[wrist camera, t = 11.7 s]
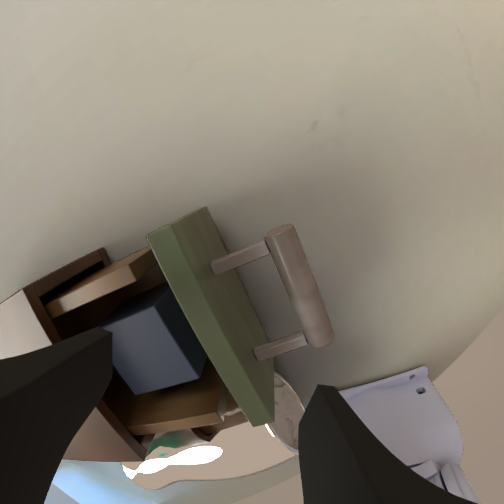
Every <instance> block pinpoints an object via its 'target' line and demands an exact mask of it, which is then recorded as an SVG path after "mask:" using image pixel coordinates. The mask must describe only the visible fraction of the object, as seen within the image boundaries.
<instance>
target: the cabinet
mask: <svg viewBox="0 0 504 504" xmlns="http://www.w3.org/2000/svg"><path fill="white" fill-rule="evenodd" d="M109 265H111V263H110V261H109V259H108V256H107V254H106V252H105V250H104V248H103V247H102V248H100V249H98V250H95V251H93V252H91V253H89V254H87V255H85V256H83V257H81V258H79V259H77V260H75V261H73V262H71V263H69V264H67V265H65V266H63V267H61V268H60V269H58V270H56V271H54V272H52V273H50V274H48V275H46V276H44V277H42V278H40V279H39V280H37V281H35V282H33V283H31V284H29V285H28V286H26V287H24V288H22V289H21V290H19V291H18V292H16V293H15V294H13V295H12V296H10V297H9V298H7V299H6V300H4V301H3V302H1V303H0V359H4V358H9V357H14V356H18V355H22V354H26V353H29V352H32V351H35V350H38V349H41V348H44V347H47V346H50V345H53V344H55V343H58V342H60V341H62V339H61V337H60V336H59V334H58V332H57V330H56V329H55V327H54V325H53V323H52V322H51V320H50V318H49V316H48V314H47V312H46V310H45V309H44V307H43V305H42V302H44V301H45V300H47V299H48V298H50V297H52V296H53V295H55V294H56V293H58V292H60V291H61V290H63V289H64V288H66V287H68V286H70V285H72V284H74V283H75V282H77V281H79V280H81V279H83V278H85V277H87V276H89V275H91V274H93V273H95V272H97V271H99V270H101V269H103V268H105V267H107V266H109ZM155 434H156V433H154V434H145V435H135V436H132V435H131V434H130V433H129V431H128V430H127V429H126V428H125V427H124V426H123V424H122V423H121V422H120V421H119V420H118V418H117V417H116V416H115V415H114V413H113V412H112V411H111V410H110V408H109V407H108V406H107V405H106V403H105V402H104V401H103V399H102V398H101V400H100V401H99V402H98V404H97V405H96V407H95V408H94V410H93V411H92V412H91V414H90V415H89V417H88V418H87V419H86V421H85V422H84V424H83V425H82V427H81V428H80V429H79V431H78V432H77V434H76V435H75V437H74V438H73V440H72V441H71V443H70V444H69V446H68V448H67V450H66V452H65V454H64V456H63V458H62V459H69V460H81V461H101V462H142V461H145V458H146V456H147V453H148V451H149V448H150V446H151V443H152V441H153V438H154V436H155Z"/></svg>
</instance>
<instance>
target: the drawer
mask: <svg viewBox="0 0 504 504" xmlns="http://www.w3.org/2000/svg"><path fill="white" fill-rule="evenodd" d="M146 238H147V241H148V243H149V245H150V246H147V247H145V248H143V249H141V250H139V251H137V252H135V253H133V254H131V255H129V256H127V257H125V258H123V259H121V260H119V261H117V262H115V263H113V264H111V265H109V266H107V267H105V268H103V269H101V270H99V271H97V272H95V273H93V274H91V275H89V276H87V277H85V278H83V279H81V280H79V281H77V282H75V283H74V284H72V285H70V286H68V287H66V288H64V289H63V290H61V291H60V292H58V293H56V294H55V295H53V296H52V297H50V298H48V299H47V300H45V301H44V302H42V305H43V307H44V309H45V310H46V312H47V314H48V316H49V318H50V320H51V322H52V323H53V325H54V327H55V329H56V330H57V332H58V334H59V336H60V337H61V339H62V341H63V340H66V339H68V338H71V337H73V336H76V335H78V334H80V333H83V332H85V331H88V330H91V329H93V328H96V327H97V326H98V325H99V324H100V323H101V322H102V321H104V320H105V319H106V318H107V317H108V316H109V315H110V314H111V313H112V312H113V311H114V310H115V309H116V308H117V307H118V306H119V305H120V304H121V303H123V302H124V301H125V300H127V299H129V298H131V297H134V296H136V295H138V294H140V293H142V292H145V291H147V290H149V289H151V288H153V287H156V286H158V285H160V284H162V283H164V282H168V284H169V286H170V288H171V289H172V291H173V293H174V295H175V297H176V299H177V301H178V303H179V305H180V307H181V309H182V310H183V312H184V314H185V316H186V318H187V320H188V321H189V323H190V325H191V327H192V329H193V330H194V332H195V334H196V336H197V338H198V339H199V341H200V343H201V345H202V346H203V348H204V350H205V352H206V353H207V358H206V361H205V364H204V367H203V370H202V373H201V376H200V378H199V379H196V380H192V381H189V382H185V383H181V384H178V385H174V386H170V387H167V388H163V389H159V390H155V391H151V392H147V393H142V394H138V395H135V394H134V393H133V391H132V390H131V389H130V387H129V386H128V385H127V383H126V382H125V381H124V379H123V378H122V377H121V375H120V374H119V372H118V371H117V370H116V368H115V367H114V365H113V364H112V366H113V377H112V379H111V381H110V383H109V385H108V387H107V389H106V391H105V393H104V394H103V396H102V399H103V401H104V402H105V403H106V405H107V406H108V407H109V408H110V410H111V411H112V412H113V413H114V415H115V416H116V417H117V418H118V420H119V421H120V422H121V423H122V424H123V426H124V427H125V428H126V429H127V430H128V431H129V433H130V434H131V435H132V436H135V435H145V434H154V433H162V432H170V431H177V430H183V429H189V428H195V427H201V426H206V425H211V424H217V423H221V422H223V421H224V415H225V410H226V404H227V398H228V393H229V391H230V393H231V394H232V396H233V398H234V399H235V401H236V402H237V404H238V405H239V407H240V408H241V410H242V412H243V413H244V415H245V416H246V418H247V419H248V421H249V422H250V424H251V425H252V427H257V426H261V425H265V424H269V423H273V422H275V402H274V356H277V355H280V354H283V353H286V352H289V351H292V350H294V349H297V348H300V347H303V346H305V345H307V344H309V346H310V347H312V348H322V347H325V346H327V345H329V344H330V343H331V342H332V341H333V340H334V338H335V334H334V331H333V328H332V325H331V323H330V320H329V317H328V314H327V311H326V309H325V306H324V303H323V301H322V298H321V295H320V293H319V290H318V287H317V285H316V282H315V279H314V277H313V274H312V271H311V269H310V266H309V264H308V261H307V258H306V256H305V253H304V251H303V248H302V246H301V243H300V241H299V238H298V236H297V233H296V231H295V228H294V226H293V225H292V224H288V225H284V226H281V227H278V228H276V229H274V230H272V231H270V232H268V233H267V234H265V235H264V239H265V240H262V241H260V242H257V243H255V244H252V245H250V246H247V247H245V248H242V249H240V250H238V251H235V252H233V253H230V254H228V253H227V251H226V249H225V246H224V244H223V242H222V240H221V238H220V235H219V233H218V231H217V229H216V227H215V224H214V222H213V220H212V218H211V216H210V213H209V211H208V209H207V207H203V208H201V209H198V210H196V211H194V212H192V213H190V214H188V215H186V216H184V217H182V218H180V219H178V220H176V221H174V222H172V223H170V224H168V225H166V226H164V227H162V228H160V229H158V230H156V231H154V232H152V233H150V234H148V235H147V236H146ZM270 253H271V255H272V258H273V260H274V263H275V265H276V267H277V270H278V272H279V274H280V277H281V279H282V281H283V284H284V286H285V289H286V291H287V293H288V296H289V298H290V300H291V303H292V305H293V308H294V310H295V312H296V315H297V317H298V320H299V322H300V324H301V327H302V329H303V331H300V332H298V333H295V334H292V335H289V336H287V337H284V338H281V339H278V340H275V341H272V342H269V340H268V338H267V336H266V334H265V332H264V330H263V328H262V326H261V324H260V322H259V319H258V317H257V315H256V313H255V311H254V309H253V307H252V305H251V303H250V300H249V298H248V296H247V294H246V292H245V290H244V288H243V285H242V283H241V281H240V279H239V277H238V275H237V273H236V270H235V268H236V267H239V266H241V265H244V264H246V263H249V262H251V261H254V260H256V259H259V258H261V257H264V256H266V255H269V254H270ZM307 341H308V342H307Z"/></svg>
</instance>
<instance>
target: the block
mask: <svg viewBox="0 0 504 504" xmlns="http://www.w3.org/2000/svg"><path fill="white" fill-rule="evenodd" d="M97 327H99V328H102V329H104V330H107V331H110V332H113V335H112V364H113V365H114V367H115V368H116V370H117V371H118V372H119V374H120V375H121V377H122V378H123V379H124V381H125V382H126V383H127V385H128V386H129V387H130V389H131V390H132V391H133V393H134V394H135V395H138V394H142V393H147V392H151V391H155V390H159V389H163V388H167V387H170V386H174V385H178V384H181V383H185V382H189V381H192V380H196V379H199V378H200V376H201V373H202V370H203V367H204V364H205V361H206V358H207V353H206V352H205V350H204V348H203V346H202V345H201V343H200V341H199V339H198V338H197V336H196V334H195V332H194V330H193V329H192V327H191V325H190V323H189V321H188V320H187V318H186V316H185V314H184V312H183V310H182V309H181V307H180V305H179V303H178V301H177V299H176V297H175V295H174V293H173V291H172V289H171V288H170V286H169V284H168V282H164V283H162V284H160V285H158V286H156V287H153V288H151V289H149V290H147V291H145V292H142V293H140V294H138V295H136V296H134V297H131V298H129V299H127V300H125V301H124V302H123V303H121V304H120V305H119V306H118V307H117V308H116V309H115V310H114V311H113V312H112V313H111V314H110V315H109V316H108V317H107V318H106V319H105V320H104V321H102V322H101V323H100V324H99V325H98V326H97Z"/></svg>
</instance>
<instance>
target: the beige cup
mask: <svg viewBox="0 0 504 504" xmlns="http://www.w3.org/2000/svg"><path fill="white" fill-rule="evenodd" d="M274 402H275V422H273V423H269V424H265V425H261V426H257V427H252V425H251V424H250V422H249V421H248V419H247V418H246V416H245V415H244V413H243V412H242V410H241V408H240V407H239V405H238V404H237V402H236V401H235V399H234V398H233V396H232V394H231V393H230V391H229V393H228V398H227V404H226V410H225V415H224V421H223V422H221V423H217V424H211V425H206V426H201V427H195V428H189V429H183V430H177V431H170V432H162V433H156V434H155V436H154V438H153V441H152V443H151V446H150V448H149V451H148V453H147V456H146V458H145V461H142V462H120V463H121V466H122V468H123V470H124V472H125V474H126V475H127V476H128V477H129V479H130V480H131V481H132V482H134V483H135V484H136V485H138V486H140V487H142V488H144V489H148V490H158V489H162V488H164V487H167V486H169V485H171V484H174V483H177V482H182V481H218V480H229V479H237V478H241V477H246V476H250V475H254V474H257V473H260V472H263V471H266V470H269V469H271V468H274V467H276V466H278V465H281V464H283V463H285V462H287V461H289V460H292V459H294V458H296V457H298V456H299V453H298V428H299V422H300V420H301V418H302V416H303V414H304V412H305V410H306V409H305V407H304V405H303V403H302V401H301V399H300V398H299V396H298V394H297V393H296V391H295V390H294V389H293V387H292V386H291V385H290V384H289V382H288V381H287V380H286V379H285V378H284V377H283V376H281V375H280V374H279V373H277V372H276V371H274Z"/></svg>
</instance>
